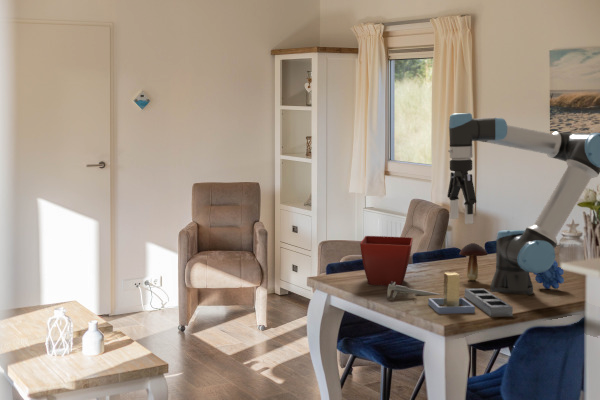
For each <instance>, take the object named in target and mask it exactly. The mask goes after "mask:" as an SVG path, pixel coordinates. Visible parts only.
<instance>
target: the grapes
mask: <svg viewBox="0 0 600 400" xmlns="http://www.w3.org/2000/svg"><path fill="white" fill-rule="evenodd" d="M561 268H562V267H561V266H559V263H558V261H557V260H555V261H554V263H553V265H552V266H551V267H550V268H549V269H548V270H546V271H544V272H541V273H533V275H535V278H534V279H535V282H536V283H538V284H542V286H543V288H544V289H548V290H549V289H551V288H552V289H555V290H556V289H559V287H560V284H561V285H562V284H563V283H564V282H565V279H564V277H563V276H562V275H564V274H565V273H564V269H563V268H562V269H561Z"/></svg>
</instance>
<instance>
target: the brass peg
mask: <svg viewBox="0 0 600 400" xmlns="http://www.w3.org/2000/svg"><path fill="white" fill-rule="evenodd" d="M460 275H461V274H459V273H458V272H444V273H443V298H444V299H443V305H442V307H453V306H460V304H459V298H460V282H461V281H460V278H461V277H460Z"/></svg>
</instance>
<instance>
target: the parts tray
mask: <svg viewBox="0 0 600 400" xmlns="http://www.w3.org/2000/svg"><path fill="white" fill-rule="evenodd" d="M443 299H444V297H443V298H442V297H438V298H433V297H432V298H429V297H428V302H427V304H428V306H429V307H430V308H431V309H433V311H435V312H436V313H437V314H438V315H439V314H442V315H443V314H446V315H447V314H475V313H476V312H475V311H476V307H475V306H476V305H474V304H473V303H472V302H470V301H469V300H468V299H466V298H465V297H459V306H453V307H443ZM460 305H461V306H460Z"/></svg>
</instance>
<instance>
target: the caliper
mask: <svg viewBox="0 0 600 400" xmlns="http://www.w3.org/2000/svg"><path fill="white" fill-rule="evenodd" d="M395 283H396V282H394V283H393V282H392V281H391V284H389V286H387V289H386V290H387V292H386V293H387V298H388V299H390V297H391V293H392V297H391V298H392V299H395V298H396V296H397V294H398V293H400V294H401V295H407V294H413V295H420V296H436V295H437V296H439V295H441V293H437V292H432V291H426V290H421V289H414V288H409V287H408V286H405V285H402V286H400V285H395ZM392 291H393V292H392Z"/></svg>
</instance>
